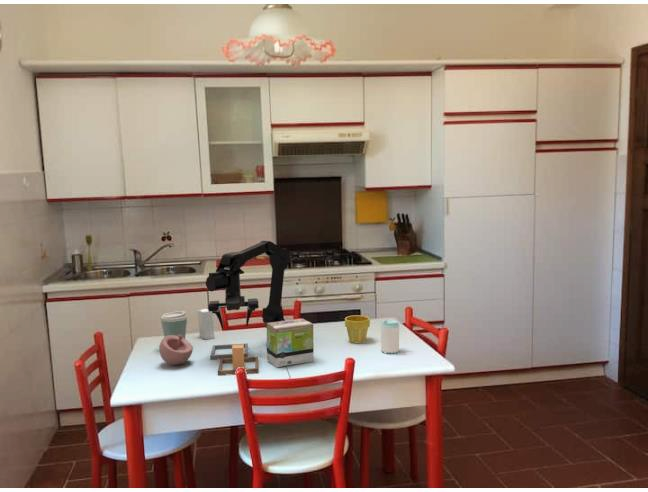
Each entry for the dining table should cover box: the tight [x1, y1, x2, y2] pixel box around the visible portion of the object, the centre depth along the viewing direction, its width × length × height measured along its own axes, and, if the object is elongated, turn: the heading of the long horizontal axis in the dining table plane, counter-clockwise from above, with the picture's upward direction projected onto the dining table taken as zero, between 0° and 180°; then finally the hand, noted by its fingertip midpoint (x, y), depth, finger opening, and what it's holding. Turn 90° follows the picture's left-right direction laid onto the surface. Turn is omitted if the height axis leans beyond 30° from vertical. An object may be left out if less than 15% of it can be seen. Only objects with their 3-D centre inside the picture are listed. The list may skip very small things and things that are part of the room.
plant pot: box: [344, 314, 371, 343], centre depth 239 cm, size 10×10×10 cm
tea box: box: [266, 318, 314, 368], centre depth 215 cm, size 15×10×15 cm
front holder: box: [217, 356, 259, 376], centre depth 210 cm, size 14×14×2 cm
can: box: [380, 319, 400, 354], centre depth 224 cm, size 7×7×12 cm
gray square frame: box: [209, 343, 249, 361], centre depth 227 cm, size 14×14×2 cm
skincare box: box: [197, 308, 215, 340], centre depth 249 cm, size 6×4×12 cm
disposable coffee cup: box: [160, 310, 188, 339], centre depth 233 cm, size 11×11×15 cm
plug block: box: [231, 343, 245, 369], centre depth 209 cm, size 4×4×8 cm
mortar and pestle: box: [158, 334, 194, 366], centre depth 214 cm, size 12×12×12 cm
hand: (234, 326), depth 221 cm, fingers open, 9 cm apart
